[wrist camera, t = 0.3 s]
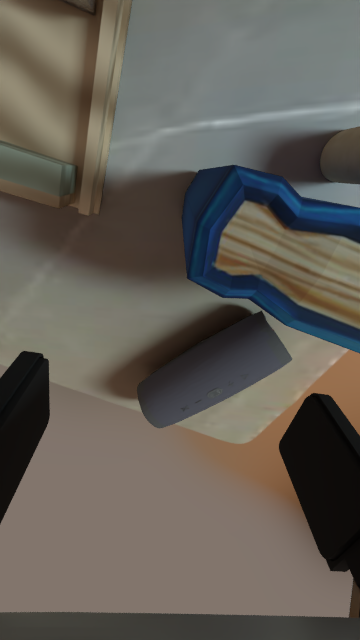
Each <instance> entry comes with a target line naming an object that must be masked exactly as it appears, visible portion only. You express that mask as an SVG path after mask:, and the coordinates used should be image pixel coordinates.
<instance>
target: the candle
mask: <svg viewBox="0 0 360 640" xmlns="http://www.w3.org/2000/svg"><path fill="white" fill-rule="evenodd" d="M320 168H321V172H322V174H323V175H324V177H325V178H326V179H328V180H330V181H332V182H338V183H350V184H360V127H355V128H351V129H347V130H343V131H341V132H339V133H337V134H336V135H334V136H333V137H332V138H331V139H330V140H329V141H328V142H327V144H326V145H325V147H324V149H323V151H322V154H321V158H320Z"/></svg>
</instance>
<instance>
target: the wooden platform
mask: <svg viewBox="0 0 360 640" xmlns="http://www.w3.org/2000/svg"><path fill="white" fill-rule="evenodd" d="M131 5H132V0H97V4H96V13H95V16H94V15H92V14H89V13H87V12H85V11H82V10H80V9H78V8H75V7H73V6H71V5H69V4H66V3H64V2H62V1H59V0H0V191H2V192H5V193H8V194H12V195H15V196H18V197H22V198H25V199H28V200H32V201H35V202H38V203H42V204H45V205H48V206H51V207H55V208H58V209H60V208H62V207H65V206H72V207H75V208H78V209H79V211H78V213H80V214H84V215H87V216H89V215H91V214H93V213H95V214H99V212H100V206H101V199H102V193H103V186H104V180H105V173H106V167H107V160H108V154H109V147H110V141H111V135H112V128H113V122H114V115H115V109H116V102H117V96H118V89H119V83H120V76H121V70H122V63H123V57H124V50H125V44H126V38H127V31H128V25H129V18H130V12H131Z"/></svg>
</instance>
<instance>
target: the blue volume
mask: <svg viewBox="0 0 360 640" xmlns="http://www.w3.org/2000/svg"><path fill="white" fill-rule="evenodd" d="M182 226H183V237H184V248H185V259H186V270H187V279H189V280H191V281H193V282H195V283H197V284H198V285H200V286H202V287H204V288H206V289H208V290H209V291H211V292H213V293H215V294H217V295H219V296H220V297H222V298H245V299H249V300H251V301H252V302H254V303H255V304H256V305H258V306H259V307H261V308H262V309H263V310H265V311H266V312H267V313H269V314H270V315H272V316H273V317H274V318H276V319H277V320H279V321H280V322H281V323H283V324H284V325H286V326H289V327H291V328H294V329H297V330H299V331H302V332H305V333H307V334H310V335H312V336H315V337H318V338H320V339H323V340H326V341H328V342H331V343H334V344H336V345H339V346H342V347H344V348H347V349H350V350H352V351H355V352H358V353H360V208H358V207H353V206H347V205H342V204H337V203H332V202H326V201H321V200H316V199H310V198H305V197H301V196H300V195H299V194H298V193H297V192H296V191H295V190H294V189H293V188H292V187H291V185H290V184H289V183H288V182H287V181H286V180H285V179H284V178H283V177H281V176H277V175H273V174H269V173H265V172H261V171H257V170H253V169H249V168H245V167H241V166H237V165H230V166H223V167H217V168H210V169H203V170H199V171H198V173H197V174H196V176H195V178H194V179H193V181H192V183H191V184H190V186H189V188H188V189H187V191H186V193H185V199H184V206H183V213H182Z"/></svg>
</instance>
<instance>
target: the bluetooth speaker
mask: <svg viewBox="0 0 360 640" xmlns="http://www.w3.org/2000/svg"><path fill="white" fill-rule="evenodd" d="M291 360H292V358H291V356H290V354H289V353H288V351H287V350H286V348H285V347H284V345H283V343H282V342H281V340H280V339H279V337H278V336H277V335H276V333H275V332H274V330H273V329H272V328H271V327H270V325H269V324H268V323H267V321H266V318H265V316H264V314H263V312H262V311H260V312H258V313H255V314H253V315H251V316H249V317H247V318H245V319H243V320H241V321H239V322H237V323H235V324H234V325H232V326H230V327H228V328H226V329H224V330H222V331H220V332H219V333H217V334H215V335H213V336H211V337H210V338H207V339H206V340H203V341H202V342H200V343H198V344H197V345H195V346H193V347H192V348H190V349H188V350H187V351H185V352H184V353H183V354H181V355H180V356H178V357H177V358H175V359H173V360H172V361H170V362H169V363H167V364H166V365H165V366H163V367H161V368H160V369H158V370H157V371H156V372H154V373H153V374H151V375H150V376H148V377H147V378H146V379H144V380H143V381H142V382H141V383H140V384H139V385H138V387H137V393H138V400H139V403H140V406H141V410H142V412H143V414H144V416H145V418H146V419H147V420H148V421H149V422H150V423H151V424H152V425H153V426H154V427H157V428H163V427H166V426H169V425H172V424H175V423H177V422H179V421H182V420H184V419H186V418H188V417H190V416H192V415H195V414H197V413H199V412H201V411H203V410H205V409H207V408H209V407H211V406H213V405H215V404H217V403H219V402H221V401H223V400H225V399H227V398H229V397H231V396H233V395H234V394H236V393H238V392H240V391H242V390H244V389H245V388H247V387H249V386H251V385H253V384H254V383H256V382H258V381H260V380H261V379H263V378H265V377H267V376H268V375H270V374H272V373H274V372H275V371H277V370H278V369H280V368H282V367H283V366H284V365H286V364H287V363H289V362H290V361H291Z"/></svg>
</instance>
